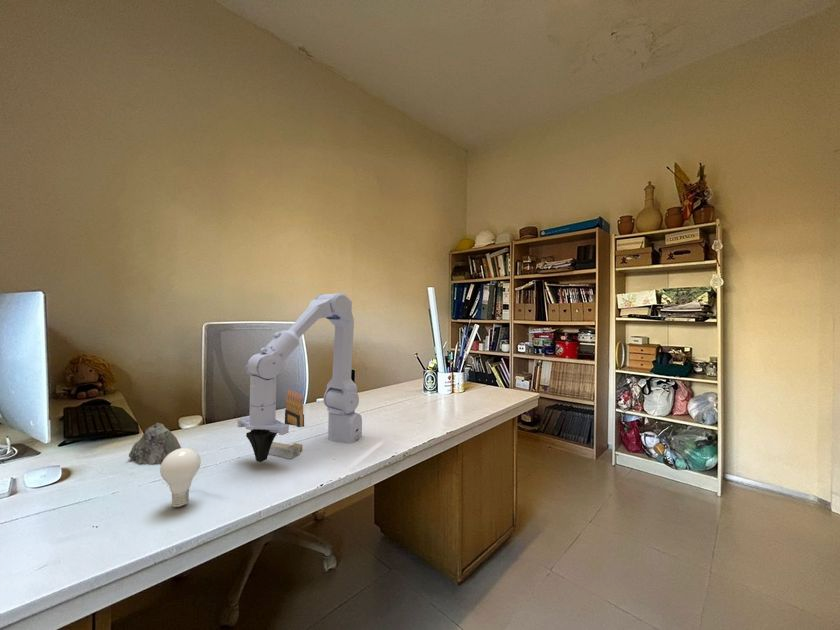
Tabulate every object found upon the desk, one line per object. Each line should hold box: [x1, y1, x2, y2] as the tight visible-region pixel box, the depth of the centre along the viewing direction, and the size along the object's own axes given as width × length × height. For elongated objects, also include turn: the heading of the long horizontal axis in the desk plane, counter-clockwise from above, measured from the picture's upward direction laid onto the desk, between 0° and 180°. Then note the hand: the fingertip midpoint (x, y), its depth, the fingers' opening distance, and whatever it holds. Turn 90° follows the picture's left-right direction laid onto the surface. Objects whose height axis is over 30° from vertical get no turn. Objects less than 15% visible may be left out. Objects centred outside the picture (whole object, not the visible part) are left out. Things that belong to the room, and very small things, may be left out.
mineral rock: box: [128, 422, 182, 465], centre depth 83 cm, size 13×11×10 cm
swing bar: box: [268, 441, 301, 460], centre depth 86 cm, size 12×3×3 cm, turn 70°
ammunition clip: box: [284, 389, 305, 428], centre depth 111 cm, size 11×2×12 cm, turn 46°
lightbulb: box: [159, 447, 202, 508], centre depth 64 cm, size 6×6×11 cm
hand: (261, 460), depth 79 cm, fingers closed
